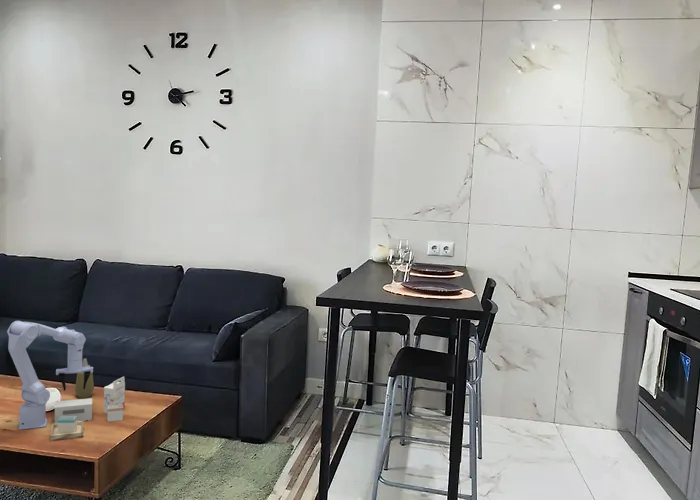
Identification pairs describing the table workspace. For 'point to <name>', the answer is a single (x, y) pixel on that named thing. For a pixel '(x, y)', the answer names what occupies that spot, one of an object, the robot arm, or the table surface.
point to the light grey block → (115, 413)
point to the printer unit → (74, 409)
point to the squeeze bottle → (80, 381)
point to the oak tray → (76, 434)
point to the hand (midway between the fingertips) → (74, 389)
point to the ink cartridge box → (114, 394)
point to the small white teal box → (67, 424)
